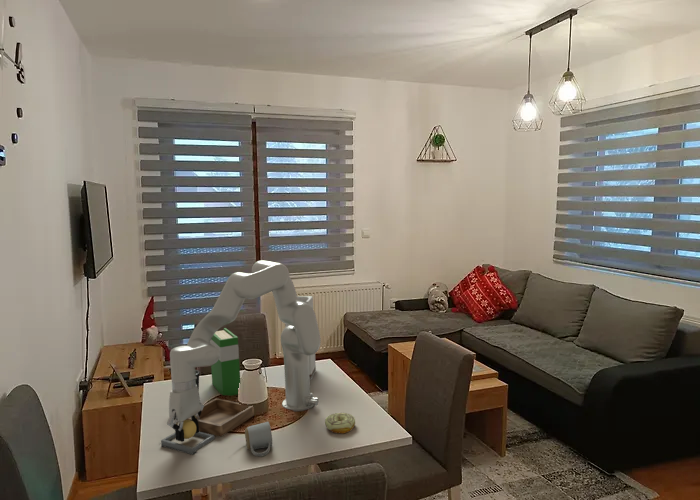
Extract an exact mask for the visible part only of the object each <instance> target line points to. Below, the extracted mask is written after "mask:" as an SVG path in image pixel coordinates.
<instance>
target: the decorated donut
mask: <svg viewBox="0 0 700 500" xmlns="http://www.w3.org/2000/svg"><path fill="white" fill-rule="evenodd" d="M324 423H325V427H326V428H327V429H328V430H329V431H330V432H332V433H333V434H342V435H343V434H346V433H348V432H351V431H352V430H353V428H354V427H355V424H356V418H355V417H354V416H353V415H352V414H350V413H347V412H339V413H338V412H337V413H336V412H335V413H332V414H329V415H328V416H327V417H326V418H325V419H324Z"/></svg>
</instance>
